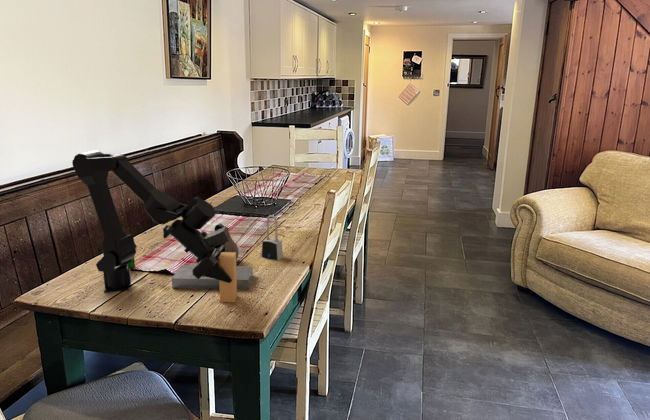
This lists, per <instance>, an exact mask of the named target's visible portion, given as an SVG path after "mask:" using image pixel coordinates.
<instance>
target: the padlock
mask: <svg viewBox="0 0 650 420" xmlns="http://www.w3.org/2000/svg"><path fill="white" fill-rule="evenodd" d="M270 218H273V219H274V223H275V224H274V225H275V237H274V238H273V237H270ZM261 244H262V245H261V255H260V257H261V258H263V259H267V260H271V261H272V260H273V261H280V260H281V259H283V258H284V253H283V252H284V251H283V240H280V239H278V219H277V217H276V216H274V215H273V214H272V215H271V214H270V215H268V216H267V217H266V238H265V239H263V240H261Z"/></svg>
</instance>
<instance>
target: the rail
mask: <svg viewBox="0 0 650 420" xmlns="http://www.w3.org/2000/svg"><path fill="white" fill-rule="evenodd" d="M195 265H196V264H180V266H179V267H178V269H177V270H176V271H175V273H174V274H173V276H172V277H171V288H172V289H204V290H205V289H211V290H220V287H219V280H217V279H214V278H209V277H205V276H204V277H201V278H199V279H197V278H196V277H195V276H194V275H193V272H192V270H193V268H194V267H195ZM236 275H237V290H249V289H250V285H251V282H252V280H253V276H254V266H251V265H250V266H248V265H245V266H244V265H243V266H242V265H236Z"/></svg>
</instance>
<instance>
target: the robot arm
mask: <svg viewBox="0 0 650 420" xmlns="http://www.w3.org/2000/svg"><path fill="white" fill-rule="evenodd" d="M71 163H72V168H73V169H74V171H75V173H76V176H77V177H78V179H79V180H80V181H81V182H82V183H83V184H84V185H85V186H86V187H87V189H88V191H89V195H90V197H91V200H92V204H93V206H94V209H95V213H96V216H97V218H98V221H99V224H100V227H101V230H102V234H103V240H102V246H101V250H102V257H101V258H100V259H99V260H98V262H96V264H95V266H96V268H97V271H98V272H102V273H103V282H104V283H103V284H104V288H103V292H116V291H127V290H129V289H130V286H131V284H132V276H131V268H129V269H128V264H129V263H131V262H132V259H133V257H134V258H135V256H136V254H137V249H136V248H138V246H137V244H136V243H135V238H134V235H133V234H127V233H126V231H124V229H123V227H122V224H121V221H120V218H119V214H118V212H117V209H116V206H115V203H114V200H113V197H112V193H111V191H110V190H111V189H110V188H109V184H108V177H109V171H111V172H112V173H113V174H115V176H116V177H117V178H119V180H120V181H121V182H122V183H123V184H124V185H125V186H126V187H127V188H129V189H130V191H131V192H132V193H133V194H134V195H136V197H137V198H139V200H140V201H141V202H142V203H143V205H144V208H145V211H146V213H147V215H149V217H150V218H151V219H152V221H153V222H154V223H155V224H157V225H165V226H164V227H163V228H162V231H163V238H164V239H167V238H168V237H169V236H172V237H173V238H174V239H175V240H176V241H177V242H178V243H179V244H181V245H182V247H184V250H183V251H184V252H185V253H186V254H188V253H190V254H192V256H193V257H195V258H196V260H195V262H196V263H195V264H194V265H195V267H194V268H193V270H192V272H193V275H194V276H195V277H196V278H197V279H199V278H201V277H204V276H205V277H209V278H214V279H217V280H221V281H224V282H227V283H230V282H231V281H232V279H231V278H230V276H229V275H228V274H227V273H226V272H225V271H224V269H223V268H222V267H221V266H220V258H219V256H220V254H221V252H226V247H227V245H225V244H226V242H228V241H229V238H230V237H231V238H232V236H231V234H230V232H229V230H230V229H229V227H227V225H223V224H222V223H221V222H220V223H218V224H215V226H214V230H213V231H211V232H209V233H208V232H206V231H205V230H201V231H200V229H202V228H203V227H204V226H205V225H207V224H208V222H209V221H211V220H212V219H213V218H214V217H215V216H216V210H215V208H214V206H213V205H212V204H211V203H209V202H208V201H207V200H204V199H201V198H200V197H199V196H196V197H194V198H193V199H192V200H191V201H190V203H188V204H185V203H180V202H178V200H176V198H174V197H172V196H171V195H170V194H168V193H165V192H164V191H161V190H159V189H157V188H156V187H155V186H154V185H153V183H151V182H150V181H149V179H147V178H146V177H145V176H144V175H143V174H142V173H141V172H140V171H139V170H138V169H137V168H136V167H135V166H134V165H133V164H132V163H131V162H130V161H129V160H128V157H127V156H126V155H125V154H122V153H118V154H115V153H104V152H103V151H102V152H101V151H100V150H91V151H90V150H89V151H86V152H80V153H78V154H75V156H74V157H73V159H72V162H71ZM179 218H182V219H179ZM169 222H172V223H171V224H169V225H166V224H168V223H169ZM222 245H225V246H224V247H223V248H222V247H221V246H222ZM218 258H219V259H218Z"/></svg>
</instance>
